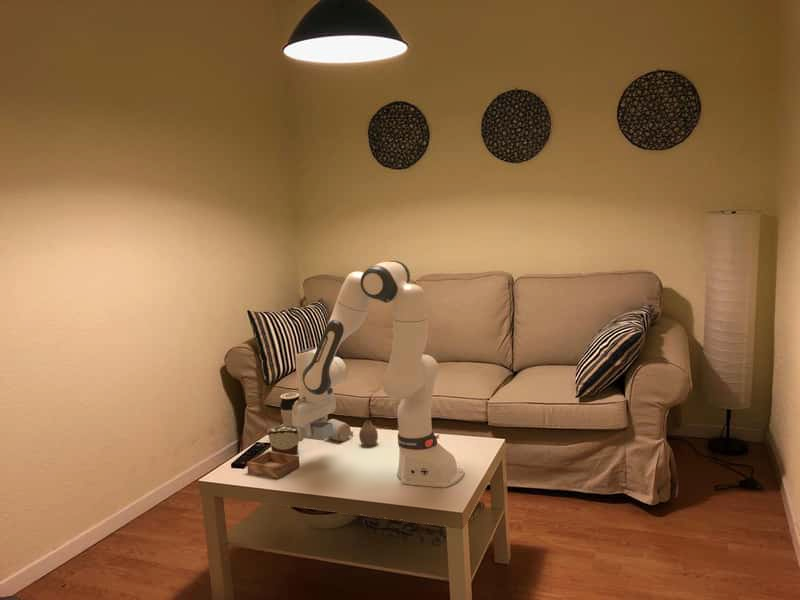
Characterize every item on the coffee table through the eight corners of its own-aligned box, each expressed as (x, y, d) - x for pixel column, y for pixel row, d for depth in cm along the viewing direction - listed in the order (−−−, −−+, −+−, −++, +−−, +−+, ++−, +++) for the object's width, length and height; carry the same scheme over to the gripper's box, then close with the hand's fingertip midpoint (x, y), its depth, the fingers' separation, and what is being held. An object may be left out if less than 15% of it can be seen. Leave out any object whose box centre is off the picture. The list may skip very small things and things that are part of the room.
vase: (362, 441, 264) (360, 419, 262) (379, 441, 263) (378, 419, 261) (358, 448, 257) (356, 425, 256) (376, 447, 256) (374, 425, 255)
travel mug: (306, 435, 276) (302, 391, 273) (301, 442, 268) (297, 397, 265) (286, 435, 276) (282, 392, 274) (281, 443, 269) (277, 398, 266)
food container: (305, 448, 261) (302, 423, 259) (301, 454, 255) (298, 429, 253) (273, 449, 262) (271, 424, 260) (269, 456, 256) (266, 430, 254)
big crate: (300, 467, 243) (299, 456, 242) (278, 479, 234) (277, 468, 233) (270, 461, 251) (269, 450, 250) (247, 473, 241) (246, 462, 241)
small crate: (333, 434, 243) (332, 422, 243) (323, 440, 238) (321, 428, 238) (311, 432, 249) (310, 420, 248) (301, 437, 244) (299, 425, 243)
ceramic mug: (339, 444, 262) (337, 425, 261) (324, 440, 268) (322, 421, 267) (358, 436, 270) (357, 417, 269) (343, 432, 276) (342, 414, 275)
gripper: (299, 403, 231) (304, 442, 233) (336, 386, 248) (341, 423, 250) (285, 401, 234) (290, 440, 236) (322, 385, 251) (327, 421, 253)
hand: (316, 431), depth 243 cm, fingers closed on small crate, 6 cm apart
